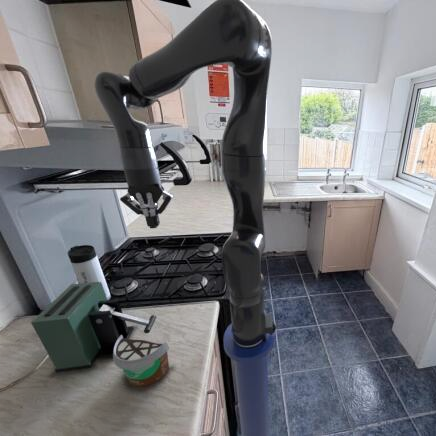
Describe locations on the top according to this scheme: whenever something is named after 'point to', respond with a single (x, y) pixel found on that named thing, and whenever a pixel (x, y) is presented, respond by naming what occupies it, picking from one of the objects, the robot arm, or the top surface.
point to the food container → (141, 360)
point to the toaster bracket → (108, 328)
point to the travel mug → (87, 266)
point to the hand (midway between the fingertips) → (154, 227)
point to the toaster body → (71, 327)
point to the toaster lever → (130, 318)
